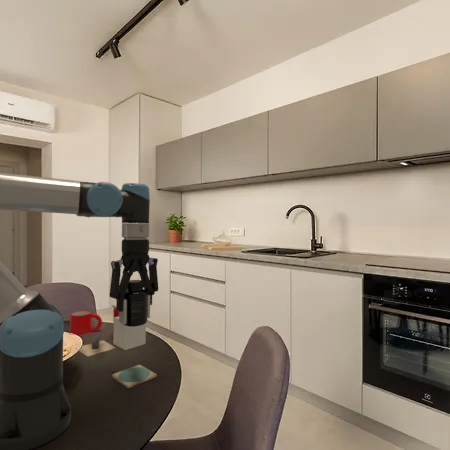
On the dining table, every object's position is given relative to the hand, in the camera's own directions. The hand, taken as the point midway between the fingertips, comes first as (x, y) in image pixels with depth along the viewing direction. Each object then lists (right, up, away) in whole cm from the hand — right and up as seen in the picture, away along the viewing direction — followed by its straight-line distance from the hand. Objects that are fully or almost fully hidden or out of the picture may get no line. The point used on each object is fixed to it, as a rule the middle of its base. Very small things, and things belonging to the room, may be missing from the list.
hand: (134, 319), depth 90 cm
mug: (-29, -16, +35) cm, 49 cm away
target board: (0, -16, 0) cm, 16 cm away
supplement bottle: (0, -1, 0) cm, 1 cm away
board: (-19, -16, +19) cm, 31 cm away
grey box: (-8, -16, +23) cm, 29 cm away
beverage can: (-14, -16, +30) cm, 37 cm away
